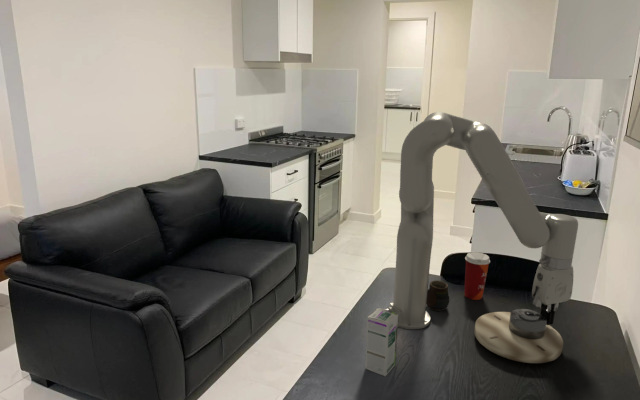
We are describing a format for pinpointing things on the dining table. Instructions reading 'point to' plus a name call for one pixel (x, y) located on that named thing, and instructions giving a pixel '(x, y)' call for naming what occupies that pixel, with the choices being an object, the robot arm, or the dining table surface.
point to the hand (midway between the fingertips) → (546, 322)
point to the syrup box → (381, 341)
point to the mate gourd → (437, 295)
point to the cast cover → (527, 324)
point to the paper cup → (475, 274)
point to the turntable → (516, 340)
